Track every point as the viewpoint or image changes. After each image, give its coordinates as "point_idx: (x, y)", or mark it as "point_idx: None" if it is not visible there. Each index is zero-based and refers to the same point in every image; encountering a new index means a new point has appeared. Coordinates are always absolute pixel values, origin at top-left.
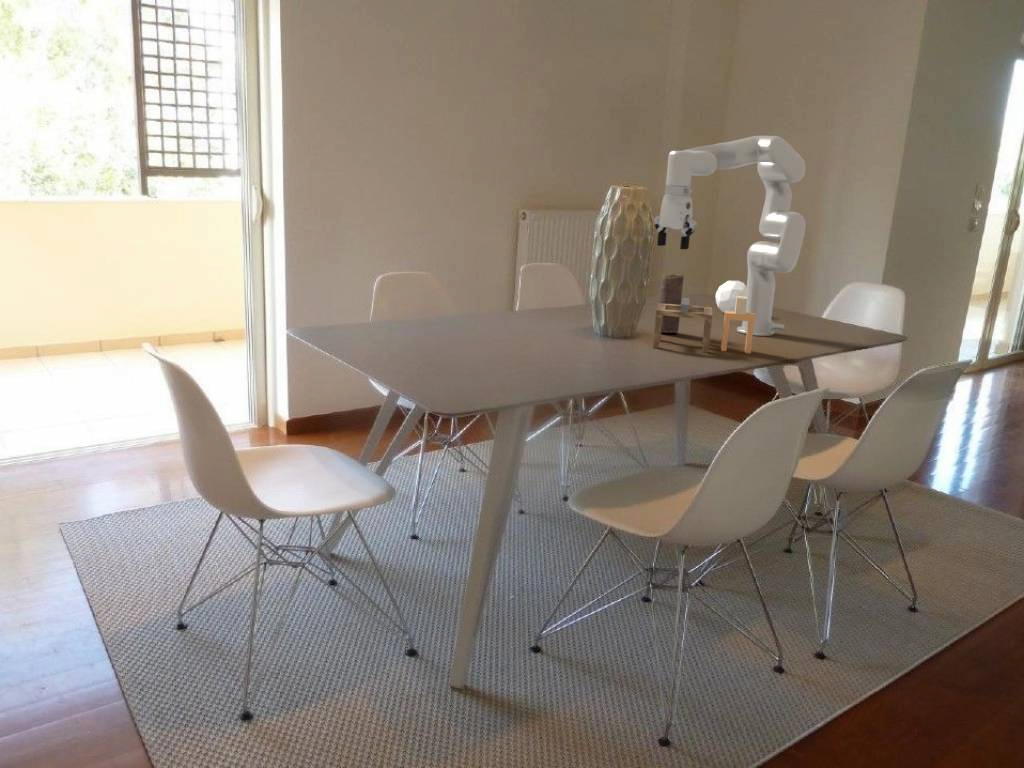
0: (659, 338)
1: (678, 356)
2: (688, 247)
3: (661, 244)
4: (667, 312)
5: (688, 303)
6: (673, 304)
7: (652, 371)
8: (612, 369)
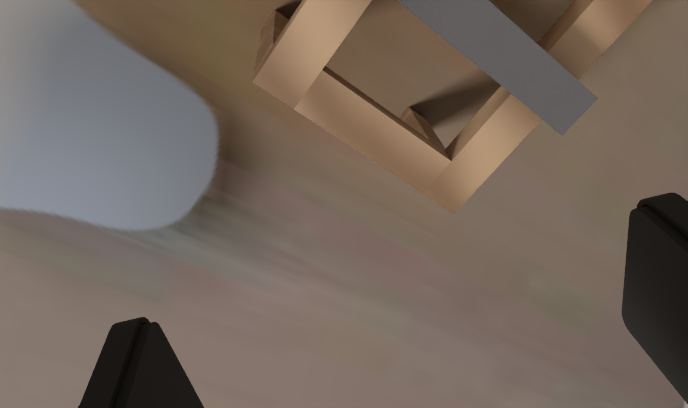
0: (435, 135)
1: None
2: (684, 201)
3: (188, 394)
4: (490, 168)
5: (557, 68)
6: (315, 4)
7: None
8: (583, 364)
